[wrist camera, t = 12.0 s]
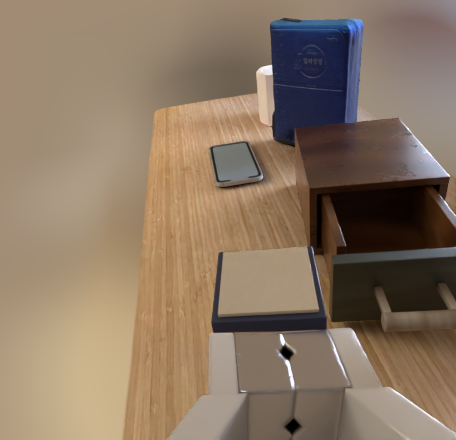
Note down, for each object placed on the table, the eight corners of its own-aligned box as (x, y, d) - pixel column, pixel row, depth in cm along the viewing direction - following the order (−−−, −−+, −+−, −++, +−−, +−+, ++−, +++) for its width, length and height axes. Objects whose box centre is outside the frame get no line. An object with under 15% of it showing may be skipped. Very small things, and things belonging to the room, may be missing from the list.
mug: (257, 115, 86) (253, 67, 80) (297, 109, 86) (296, 61, 80) (266, 135, 76) (262, 82, 70) (311, 129, 76) (311, 75, 70)
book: (269, 144, 72) (260, 22, 61) (285, 133, 75) (280, 15, 64) (344, 159, 64) (349, 20, 53) (358, 146, 67) (367, 13, 56)
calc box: (246, 490, 26) (210, 320, 18) (246, 416, 31) (217, 248, 22) (323, 489, 26) (327, 314, 17) (313, 415, 30) (312, 242, 21)
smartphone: (248, 140, 73) (264, 176, 60) (249, 144, 73) (264, 181, 61) (208, 146, 73) (215, 184, 60) (208, 150, 73) (216, 189, 60)
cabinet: (435, 246, 44) (450, 176, 39) (309, 254, 45) (309, 188, 41) (391, 175, 58) (398, 117, 53) (296, 183, 59) (294, 127, 55)
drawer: (504, 357, 31) (530, 293, 27) (340, 363, 32) (343, 303, 29) (416, 216, 47) (425, 164, 44) (310, 224, 49) (309, 174, 45)
